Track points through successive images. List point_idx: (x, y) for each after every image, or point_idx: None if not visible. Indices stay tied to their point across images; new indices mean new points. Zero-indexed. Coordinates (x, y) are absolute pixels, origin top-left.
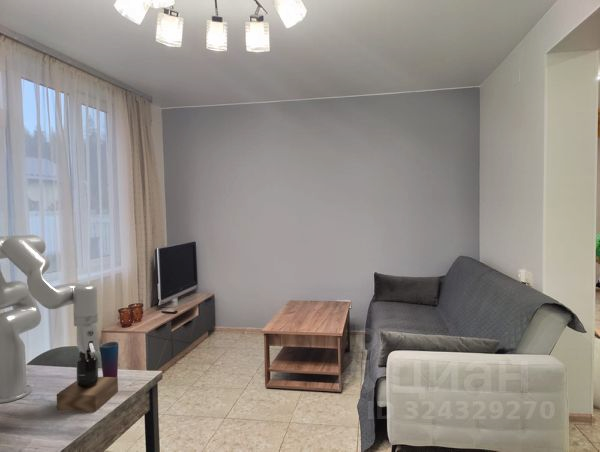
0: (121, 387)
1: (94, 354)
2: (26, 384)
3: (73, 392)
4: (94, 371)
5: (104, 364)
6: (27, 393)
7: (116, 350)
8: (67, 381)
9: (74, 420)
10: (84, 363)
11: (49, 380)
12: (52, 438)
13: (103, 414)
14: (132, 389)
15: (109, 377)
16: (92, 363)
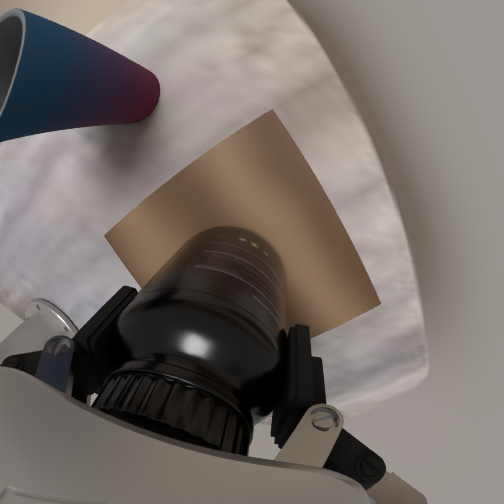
0: (242, 86)
1: (413, 492)
2: (42, 323)
3: None
4: (285, 311)
5: (85, 120)
6: (70, 325)
7: (57, 31)
8: (43, 217)
9: (349, 333)
10: (258, 422)
11: (20, 247)
12: (376, 387)
13: (405, 264)
14: (310, 67)
15: (229, 142)
16: (323, 399)
